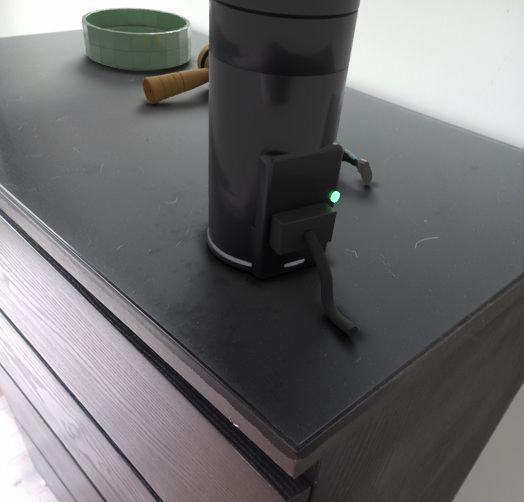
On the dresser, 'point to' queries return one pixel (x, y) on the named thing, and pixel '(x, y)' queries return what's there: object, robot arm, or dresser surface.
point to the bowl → (137, 38)
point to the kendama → (177, 80)
